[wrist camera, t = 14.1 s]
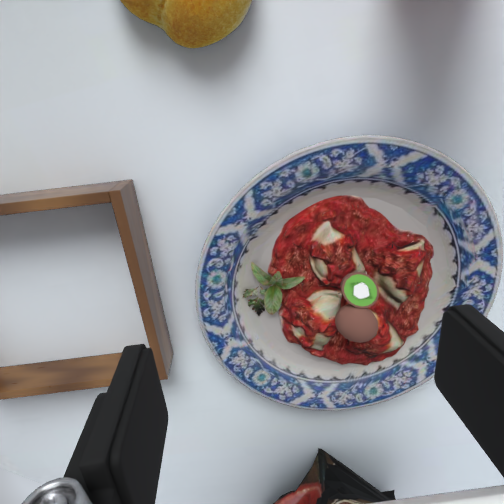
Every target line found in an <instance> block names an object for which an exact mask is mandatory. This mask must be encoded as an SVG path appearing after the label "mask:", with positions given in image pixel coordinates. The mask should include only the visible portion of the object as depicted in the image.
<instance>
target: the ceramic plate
mask: <svg viewBox="0 0 504 504" xmlns="http://www.w3.org/2000/svg"><path fill="white" fill-rule="evenodd" d="M502 262H503V246H502V237H501V231H500V226H499V223H498V219H497V216H496V213H495V211H494V209H493V206H492V204H491V202H490V200H489V199H488V197H487V195H486V194H485V192H484V190H483V189H482V188H481V186H480V185H479V184H478V182H477V181H476V180H475V179H474V178H473V177H472V176H471V175H470V174H469V173H468V172H467V171H466V170H465V169H464V168H463V167H462V166H461V165H459V164H458V163H457V162H455V161H454V160H453V159H451V158H450V157H448V156H446V155H444V154H443V153H441V152H439V151H437V150H435V149H433V148H431V147H428V146H426V145H424V144H420V143H417V142H414V141H411V140H407V139H402V138H396V137H391V136H378V135H364V136H351V137H343V138H337V139H332V140H328V141H324V142H320V143H317V144H314V145H311V146H308V147H305V148H303V149H300V150H297V151H295V152H293V153H291V154H289V155H288V156H286V157H284V158H282V159H280V160H279V161H277V162H275V163H273V164H271V165H270V166H269V167H267V168H266V169H264V170H263V171H261V172H260V173H259V174H257V175H256V176H255V177H254V178H253V179H251V180H250V181H249V182H248V183H247V184H246V185H245V186H243V188H242V189H241V190H240V191H239V192H238V193H237V194H236V195H235V196H234V197H233V198H232V199H231V201H230V202H229V203H228V204H227V206H226V207H225V208H224V210H223V211H222V212H221V214H220V215H219V217H218V219H217V220H216V222H215V223H214V225H213V227H212V229H211V231H210V233H209V235H208V237H207V239H206V242H205V244H204V247H203V250H202V253H201V256H200V261H199V265H198V270H197V276H196V290H195V297H196V308H197V313H198V318H199V322H200V326H201V329H202V332H203V334H204V337H205V339H206V341H207V343H208V345H209V347H210V348H211V350H212V352H213V353H214V355H215V357H216V358H217V359H218V361H219V362H220V363H221V364H222V366H223V367H224V368H225V369H226V370H227V371H228V372H229V373H230V374H231V375H232V376H233V377H234V378H236V379H237V380H238V381H239V382H240V383H242V384H243V385H245V386H246V387H248V388H249V389H250V390H252V391H254V392H256V393H257V394H259V395H261V396H264V397H266V398H268V399H270V400H273V401H276V402H279V403H282V404H285V405H289V406H293V407H297V408H303V409H308V410H349V409H355V408H360V407H365V406H370V405H374V404H377V403H381V402H385V401H388V400H390V399H393V398H395V397H397V396H399V395H402V394H404V393H406V392H408V391H410V390H412V389H414V388H416V387H418V386H420V385H422V384H424V383H425V382H426V381H428V380H429V379H431V378H432V377H434V374H435V367H436V360H437V353H438V345H439V338H440V331H441V324H442V317H443V313H444V312H446V311H447V310H448V308H449V307H450V306H456V305H464V304H470V305H472V306H473V307H474V308H475V309H477V310H478V311H479V312H480V313H481V314H483V315H484V316H485V317H487V315H488V313H489V311H490V309H491V307H492V305H493V302H494V299H495V297H496V294H497V290H498V287H499V283H500V278H501V272H502ZM353 272H362V273H365V274H367V275H369V276H370V277H372V278H373V279H374V280H375V282H376V283H377V285H378V288H379V297H378V299H377V301H376V303H375V304H374V305H372V306H370V307H368V309H369V310H371V311H372V312H373V314H374V315H375V317H376V318H377V321H378V331H377V335H376V337H374V338H372V339H371V340H370V341H367V342H362V343H358V342H353V341H350V340H348V339H346V338H345V337H344V336H343V335H342V334H341V333H340V332H339V331H338V329H337V327H336V324H335V316H336V313H337V311H338V310H339V309H340V308H341V307H343V306H345V305H348V304H349V303H348V302H347V301H346V300H345V299H344V297H343V295H342V293H341V286H340V284H341V281H342V279H343V278H344V277H345V276H346V275H347V274H349V273H353Z"/></svg>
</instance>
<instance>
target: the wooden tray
mask: <svg viewBox="0 0 504 504" xmlns="http://www.w3.org/2000/svg"><path fill="white" fill-rule="evenodd" d="M102 203H112V206H113V210H114V214H115V218H116V221H117V225H118V229H119V233H120V237H121V240H122V244H123V248H124V252H125V255H126V259H127V263H128V267H129V270H130V274H131V278H132V282H133V285H134V289H135V293H136V297H137V301H138V304H139V308H140V312H141V316H142V319H143V323H144V327H145V331H146V334H147V338H148V342H149V346H150V348H151V349H152V351H153V355H154V359H155V363H156V367H157V371H158V375H159V379H160V380H165V379H168V375H169V371H170V366H171V362H172V357H173V349H172V345H171V341H170V337H169V332H168V328H167V324H166V320H165V315H164V311H163V307H162V303H161V299H160V294H159V290H158V286H157V282H156V277H155V273H154V269H153V265H152V260H151V256H150V252H149V248H148V243H147V239H146V235H145V231H144V227H143V222H142V218H141V214H140V210H139V205H138V201H137V197H136V193H135V188H134V184H133V180H123V181H115V182H107V183H98V184H90V185H81V186H72V187H64V188H55V189H47V190H38V191H30V192H21V193H13V194H4V195H0V215H9V214H17V213H26V212H34V211H43V210H51V209H60V208H68V207H77V206H85V205H94V204H102ZM121 355H122V353H115V354H107V355H99V356H90V357H82V358H74V359H66V360H57V361H49V362H41V363H33V364H25V365H16V366H8V367H0V400H1V399H9V398H17V397H26V396H34V395H42V394H50V393H58V392H66V391H75V390H83V389H91V388H99V387H107V386H110V383H111V381H112V378H113V375H114V373H115V370H116V368H117V365H118V362H119V360H120V357H121Z"/></svg>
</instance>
